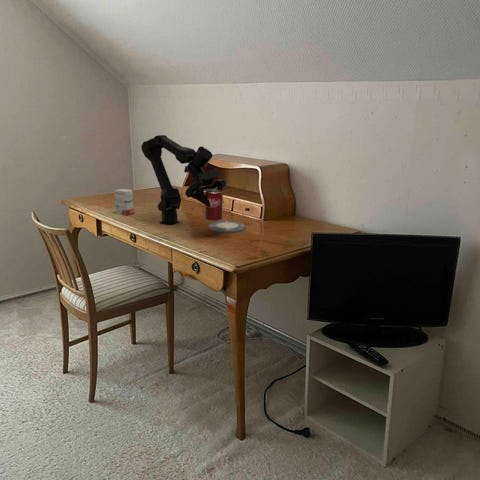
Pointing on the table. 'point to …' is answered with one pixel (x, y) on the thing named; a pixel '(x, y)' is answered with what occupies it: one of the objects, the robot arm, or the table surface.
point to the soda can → (214, 205)
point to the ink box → (124, 201)
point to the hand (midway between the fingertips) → (216, 204)
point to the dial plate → (227, 227)
